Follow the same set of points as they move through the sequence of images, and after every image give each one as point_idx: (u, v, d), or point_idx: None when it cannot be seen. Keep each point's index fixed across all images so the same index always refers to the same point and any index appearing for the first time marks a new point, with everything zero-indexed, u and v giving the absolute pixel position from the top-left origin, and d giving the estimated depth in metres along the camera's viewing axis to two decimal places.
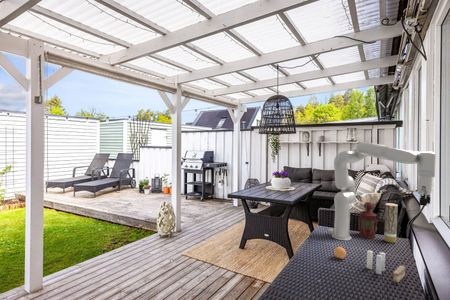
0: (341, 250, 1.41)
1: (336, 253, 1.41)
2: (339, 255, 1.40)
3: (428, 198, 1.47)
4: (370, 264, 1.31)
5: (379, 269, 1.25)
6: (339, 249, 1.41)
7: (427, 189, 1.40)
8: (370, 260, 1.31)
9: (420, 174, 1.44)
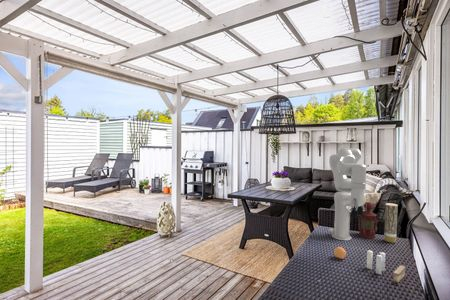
0: (341, 250, 1.41)
1: (336, 253, 1.41)
2: (339, 255, 1.40)
3: (361, 209, 1.50)
4: (370, 264, 1.31)
5: (379, 269, 1.25)
6: (339, 249, 1.41)
7: (357, 201, 1.43)
8: (370, 260, 1.31)
9: (352, 186, 1.47)
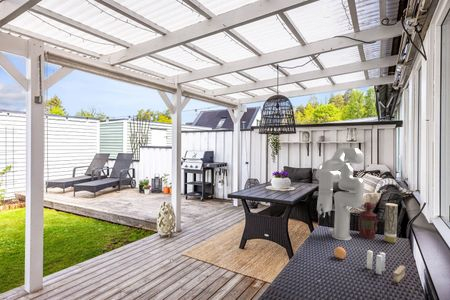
0: (341, 250, 1.41)
1: (336, 253, 1.41)
2: (339, 255, 1.40)
3: (327, 217, 1.50)
4: (370, 264, 1.31)
5: (379, 269, 1.25)
6: (339, 249, 1.41)
7: (323, 207, 1.45)
8: (370, 260, 1.31)
9: (319, 192, 1.49)
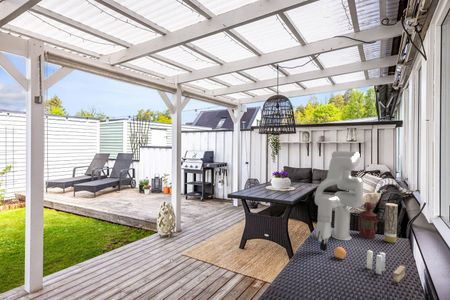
0: (341, 250, 1.41)
1: (336, 253, 1.41)
2: (339, 255, 1.40)
3: None
4: (370, 264, 1.31)
5: (379, 269, 1.25)
6: (339, 249, 1.41)
7: (322, 234, 1.45)
8: (370, 260, 1.31)
9: (318, 219, 1.49)
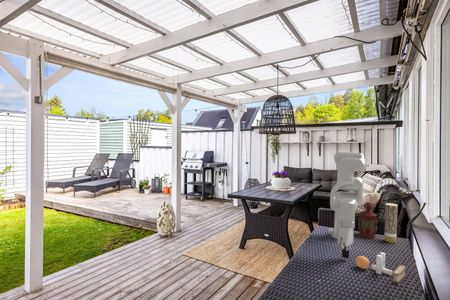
0: None
1: (360, 267, 1.30)
2: (358, 264, 1.30)
3: None
4: None
5: (379, 269, 1.25)
6: None
7: (345, 241, 1.36)
8: None
9: (340, 224, 1.40)
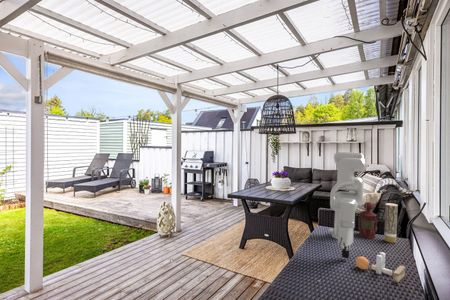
0: None
1: (360, 268, 1.30)
2: (358, 265, 1.30)
3: None
4: None
5: (379, 269, 1.25)
6: None
7: (345, 241, 1.36)
8: None
9: (340, 224, 1.40)
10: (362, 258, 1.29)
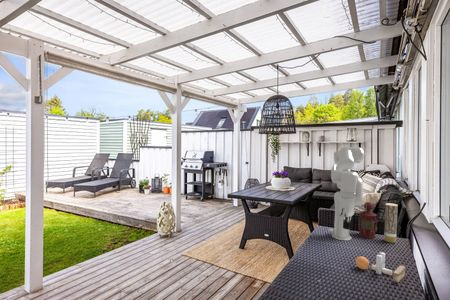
0: None
1: (360, 268, 1.30)
2: (358, 265, 1.30)
3: None
4: None
5: (379, 269, 1.25)
6: None
7: (346, 212, 1.36)
8: None
9: (341, 195, 1.40)
10: (362, 258, 1.29)
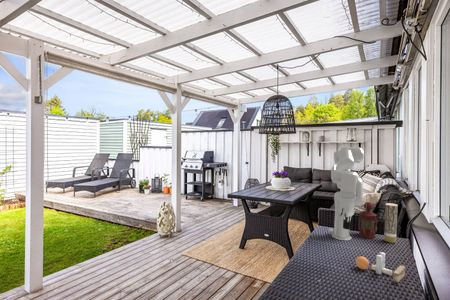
0: None
1: (360, 268, 1.30)
2: (358, 265, 1.30)
3: None
4: None
5: (379, 269, 1.25)
6: None
7: (346, 211, 1.36)
8: None
9: (341, 195, 1.40)
10: (362, 258, 1.29)
